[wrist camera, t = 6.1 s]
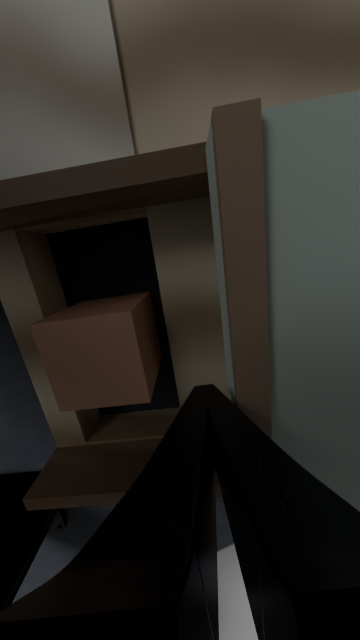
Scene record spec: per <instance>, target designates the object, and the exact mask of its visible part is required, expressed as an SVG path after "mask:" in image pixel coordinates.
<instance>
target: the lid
mask: <svg viewBox="0 0 360 640" xmlns="http://www.w3.org/2000/svg"><path fill="white" fill-rule="evenodd" d="M205 150H206V160H207V171H208V181H209V192H210V202H211V213H212V223H213V234H214V244H215V255H216V265H217V275H218V286H219V296H220V307H221V317H222V328H223V338H224V349H225V359H226V369H227V380H228V390H229V399H230V400H231V401H232V402H233V403H234V404H235V405H236V406H237V407H238V408H239V409H240V410H241V411H242V412H243V413H244V414H246V415H247V416H248V417H249V418H250V419H251V420H252V421H253V422H254V423H255V424H256V425H257V426H258V427H259V428H260V429H261V430H263V431H264V432H265V433H266V434H267V435H268V436H269V437H270V438H271V440H273V441H274V442H275V443H276V444H277V445H279V446H280V447H281V448H282V449H283V450H284V451H285V452H286V453H287V454H288V455H290V456H291V457H292V458H293V459H294V460H295V461H296V462H297V463H299V464H300V465H301V466H302V467H304V468H305V469H306V470H307V471H309V472H310V473H311V474H312V475H313V476H315V477H316V478H317V479H318V480H320V481H321V482H322V483H324V484H325V485H326V486H328V487H329V488H330V489H331V490H333V491H334V492H335V493H337V494H338V495H339V496H340V497H342V498H343V499H344V500H346V501H347V502H348V503H349V504H351V505H352V506H353V507H355V508H356V509H357V510H358V511H360V90H355V91H350V92H345V93H339V94H334V95H329V96H324V97H319V98H314V99H309V100H304V101H298V102H293V103H288V104H283V105H278V106H273V107H268V108H263V109H261V98H257V99H252V100H247V101H242V102H237V103H232V104H227V105H221V106H216V107H213V109H212V114H211V120H210V126H209V131H208V137H207V143H206V149H205Z"/></svg>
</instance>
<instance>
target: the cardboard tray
mask: <svg viewBox="0 0 360 640" xmlns="http://www.w3.org/2000/svg"><path fill="white" fill-rule="evenodd" d="M355 90H360V0H0V300H1V303H2V305H3V308H4V311H5V313H6V316H7V318H8V321H9V324H10V326H11V329H12V331H13V334H14V337H15V339H16V342H17V344H18V347H19V349H20V352H21V355H22V357H23V360H24V362H25V365H26V368H27V370H28V373H29V375H30V378H31V381H32V383H33V386H34V388H35V391H36V394H37V396H38V399H39V401H40V404H41V407H42V409H43V412H44V414H45V417H46V420H47V422H48V425H49V427H50V430H51V433H52V435H53V438H54V440H55V443H56V446H57V449H56V450H55V452H54V453H53V455H52V456H51V458H50V459H49V461H48V462H47V464H46V465H45V467H44V468H43V470H42V471H41V473H40V474H39V475H38V477H37V478H36V480H35V481H34V483H33V484H32V486H31V487H30V489H29V490H28V492H27V493H26V495H25V496H24V498H23V499H22V501H23V503H24V505H25V507H26V509H27V511H31V510H45V509H59V508H72V507H86V506H100V505H114V504H117V503H118V502H119V501H120V500H121V498H122V497H123V496H124V494H125V493H126V492H127V490H128V489H129V488H130V486H131V485H132V484H133V482H134V481H135V479H136V478H137V477H138V475H139V474H140V472H141V471H142V469H143V468H144V466H145V465H146V463H147V462H148V460H149V459H150V457H151V455H152V454H153V452H154V451H155V449H156V447H157V446H158V444H159V443H160V441H161V439H162V438H163V436H164V434H165V433H166V431H167V430H168V428H169V426H170V425H171V423H172V422H173V420H174V418H175V417H176V415H177V413H178V412H179V410H180V409H181V407H182V405H183V404H184V402H185V400H186V399H187V397H188V396H189V394H190V392H191V391H192V389H193V388H194V386H198V385H206V384H214V385H215V386H216V387H217V388H218V389H219V390H220V391H221V392H222V393H223V394H224V395H225V396H226V397H228V398H229V390H228V380H227V369H226V359H225V349H224V338H223V328H222V317H221V307H220V296H219V286H218V275H217V265H216V255H215V244H214V234H213V223H212V213H211V202H210V192H209V181H208V171H207V160H206V150H205V149H206V143H207V137H208V131H209V126H210V120H211V114H212V109H213V107H216V106H221V105H227V104H232V103H237V102H242V101H247V100H252V99H257V98H261V109H263V108H268V107H273V106H278V105H283V104H288V103H293V102H298V101H304V100H309V99H314V98H319V97H324V96H329V95H334V94H339V93H345V92H350V91H355ZM146 217H147V218H148V224H149V230H150V236H151V242H152V247H153V253H154V259H155V265H156V271H157V276H158V282H159V288H160V294H161V300H162V305H163V311H164V317H165V323H166V329H167V334H168V340H169V346H170V352H171V358H172V363H173V369H174V375H175V381H176V387H177V392H178V398H179V404H180V407H176V408H167V409H157V410H147V411H137V412H128V413H118V414H108V415H100V413H99V410H98V408H93V409H84V410H75V411H65V412H60V410H59V407H58V405H57V402H56V399H55V396H54V394H53V391H52V388H51V385H50V383H49V380H48V377H47V374H46V371H45V369H44V366H43V363H42V360H41V358H40V355H39V352H38V349H37V346H36V344H35V341H34V338H33V335H32V333H31V330H30V327H29V325H30V324H32V323H34V322H37V321H39V320H41V319H43V318H46V317H48V316H50V315H52V314H55V313H57V312H59V311H61V310H64V309H66V308H68V306H67V303H66V299H65V296H64V293H63V289H62V286H61V283H60V279H59V276H58V272H57V269H56V266H55V262H54V259H53V256H52V252H51V249H50V246H49V242H48V239H47V236H46V234H50V233H56V232H62V231H68V230H74V229H80V228H86V227H92V226H98V225H104V224H110V223H116V222H122V221H128V220H134V219H140V218H146ZM215 494H216V497H222V493H221V489H220V485H219V481H218V477H217V473H216V469H215Z"/></svg>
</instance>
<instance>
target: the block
mask: <svg viewBox="0 0 360 640" xmlns="http://www.w3.org/2000/svg"><path fill="white" fill-rule="evenodd" d="M29 327H30V330H31V333H32V335H33V338H34V341H35V344H36V346H37V349H38V352H39V355H40V358H41V360H42V363H43V366H44V369H45V371H46V374H47V377H48V380H49V383H50V385H51V388H52V391H53V394H54V396H55V399H56V402H57V405H58V407H59V410H60V412H65V411H75V410H84V409H93V408H103V407H112V406H122V405H131V404H141V403H150V402H151V399H152V395H153V391H154V387H155V382H156V378H157V374H158V370H159V366H160V362H161V358H162V353H161V348H160V342H159V337H158V331H157V326H156V321H155V315H154V310H153V305H152V299H151V294H150V292H144V293H137V294H130V295H123V296H116V297H109V298H102V299H95V300H88V301H82V302H79V303H77V304H75V305H73V306H70V307H68V308H66V309H64V310H61V311H59V312H57V313H55V314H52V315H50V316H48V317H46V318H43V319H41V320H39V321H37V322H34V323H32V324H30V325H29Z"/></svg>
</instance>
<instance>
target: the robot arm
mask: <svg viewBox="0 0 360 640" xmlns="http://www.w3.org/2000/svg"><path fill="white" fill-rule="evenodd" d="M215 469H216V473H217V477H218V481H219V485H220V489H221V493H222V497H223V501H224V505H225V509H226V513H227V517H228V521H229V525H230V529H231V533H232V537H233V541H234V545H235V548H236V552H237V556H238V560H239V564H240V568H241V572H242V576H243V580H244V584H245V588H246V592H247V596H248V600H249V604H250V608H251V612H252V616H253V620H254V624H255V628H256V632H257V635H258V639H259V640H360V511H358V510H357V509H356V508H355V507H353V506H352V505H351V504H349V503H348V502H347V501H346V500H344V499H343V498H342V497H340V496H339V495H338V494H337V493H335V492H334V491H333V490H331V489H330V488H329V487H328V486H326V485H325V484H324V483H322V482H321V481H320V480H318V479H317V478H316V477H315V476H313V475H312V474H311V473H310V472H309V471H307V470H306V469H305V468H304V467H302V466H301V465H300V464H299V463H297V462H296V461H295V460H294V459H293V458H292V457H291V456H290V455H288V454H287V453H286V452H285V451H284V450H283V449H282V448H281V447H280V446H279V445H277V444H276V443H275V442H274V441H273V440H271V438H270V437H269V436H268V435H267V434H266V433H265V432H264V431H263V430H261V429H260V428H259V427H258V426H257V425H256V424H255V423H254V422H253V421H252V420H251V419H250V418H249V417H248V416H247V415H246V414H244V413H243V412H242V411H241V410H240V409H239V408H238V407H237V406H236V405H235V404H234V403H233V402H232V401H231V400H230V399H229V398H228V397H226V396H225V395H224V394H223V393H222V392H221V391H220V390H219V389H218V388H217V387H216V386H215V385H214V384H206V385H198V386H194V388H193V389H192V391H191V392H190V394H189V396H188V397H187V399H186V400H185V402H184V404H183V405H182V407H181V409H180V410H179V412H178V413H177V415H176V417H175V418H174V420H173V422H172V423H171V425H170V426H169V428H168V430H167V431H166V433H165V434H164V436H163V438H162V439H161V441H160V443H159V444H158V446H157V447H156V449H155V451H154V452H153V454H152V455H151V457H150V459H149V460H148V462H147V463H146V465H145V466H144V468H143V469H142V471H141V472H140V474H139V475H138V477H137V478H136V479H135V481H134V482H133V484H132V485H131V486H130V488H129V489H128V490H127V492H126V493H125V494H124V496H123V497H122V498H121V500H120V501H119V502H118V503H117V505H116V506H115V507H114V509H113V510H112V511H111V512H110V514H109V515H108V516H107V518H106V519H105V520H104V521H103V523H102V524H101V525H100V527H99V528H98V529H97V530H96V532H95V533H94V534H93V536H92V537H91V538H90V539H89V541H88V542H87V543H86V545H85V546H84V547H83V548H82V549H81V551H80V552H79V553H78V554H77V555H76V556H75V557H74V558H73V560H72V561H71V562H70V563H69V564H68V565H67V566H66V567H65V568H63V569H62V570H61V571H60V572H59V573H58V574H57V575H55V576H54V577H53V578H52V579H50V580H49V581H47V582H46V583H44V584H43V585H41V586H40V587H38V588H36V589H35V590H33V591H32V592H30V593H28V594H27V595H25V596H24V597H22V598H21V599H19V600H17V601H16V602H14V603H13V604H12V602H13V600H14V598H15V596H16V594H17V592H18V590H19V588H20V586H21V584H22V582H23V580H24V578H25V576H26V574H27V572H28V570H29V568H30V566H31V564H32V562H33V560H34V558H35V556H36V554H37V552H38V550H39V548H40V546H41V544H42V542H43V540H44V538H45V536H46V534H47V532H48V531H61V530H64V529H65V528H66V525H67V523H68V521H67V518H66V516H65V514H64V511H63V509H62V508H59V509H45V510H31V511H27V509H26V507H25V505H24V503H23V501H22V499H23V498H24V496H25V495H26V493H27V492H28V490H29V489H30V487H31V486H32V484H33V483H34V481H35V480H36V478H37V477H38V475H39V474H40V473H41V472H31V473H19V474H7V475H0V640H219V628H218V627H219V624H218V580H217V537H216V494H215Z"/></svg>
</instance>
